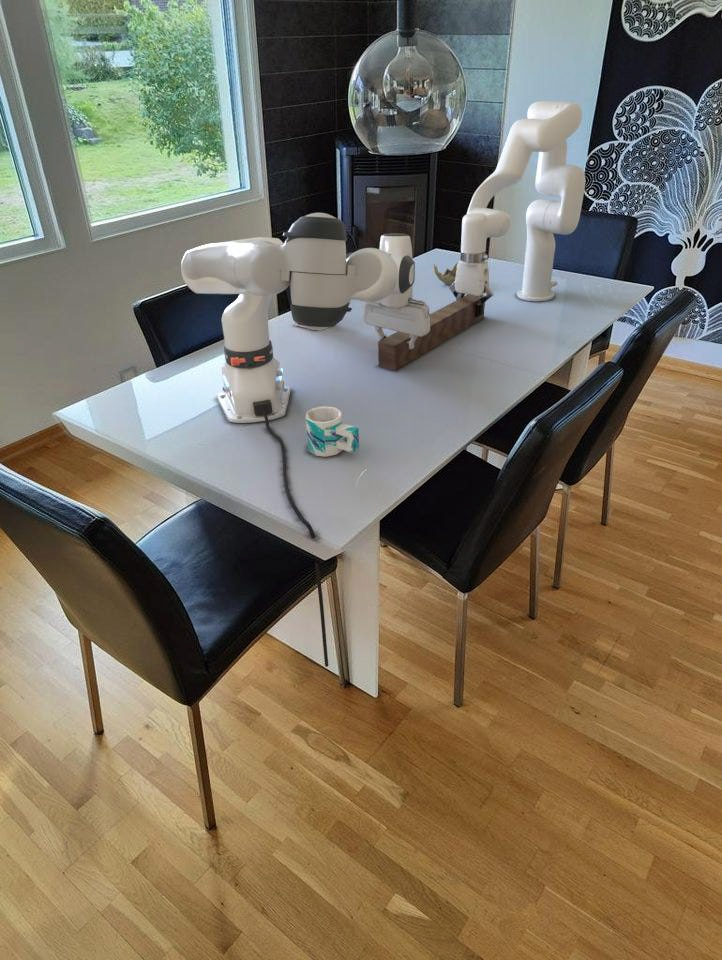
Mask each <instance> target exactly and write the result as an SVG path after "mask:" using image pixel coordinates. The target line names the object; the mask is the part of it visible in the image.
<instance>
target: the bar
mask: <svg viewBox="0 0 722 960" xmlns="http://www.w3.org/2000/svg"><path fill="white" fill-rule="evenodd" d="M485 296H486V295H484V297H485ZM476 305H477V300H476V296H474V295H468V294H465V296H464V297H462V298H460V299H458V300H456V299H455V300H454V301H452V302H450V303H449V304H446V305H445V306H443V307H441V308H439V309H437V310H435V311H434V312H432V313H429V318H430V331H429V333H428V334H426V335H424V336H422V337H420V336H418V337H417V339H416V341H415V342H414V348H413V349H408V348H407V347H406V346H407V345H406V343H407V342H409V341H410V340H411V338H410V334H407V333H403V332H398V331H395V332H394V333H392V334H390V335H387V336H386V338H384V339H382V340H380V341H379V340H378V341H377V351H378V352H377V354H378V356H377V357H378V359H377V360H378V367H379V368H383V369H386V370H391V371H397V370H399V369H400V368H402V367H404V366H406V365H408V364H409V363H410V362H413V361H414V360H415V359H417V358H419V357H421V356H423V355H424V354H426V353H427V352H429V351H431V350H432V349H434V348H436V347H437V346H439V345H441V344H442V343H444V342H446V341H447V340H449V339H451V338H453V337H454V336H456V335H458V334H459V333H461V332H462V331H465V330H466V329H468V328H470V327H471V326H473V325H475V324H476V323H478V322H480V321H481V320H483V319H484V318H485V307H486V302H485V303H483V313H482V315H481V316H479V317H475V311H476Z"/></svg>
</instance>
